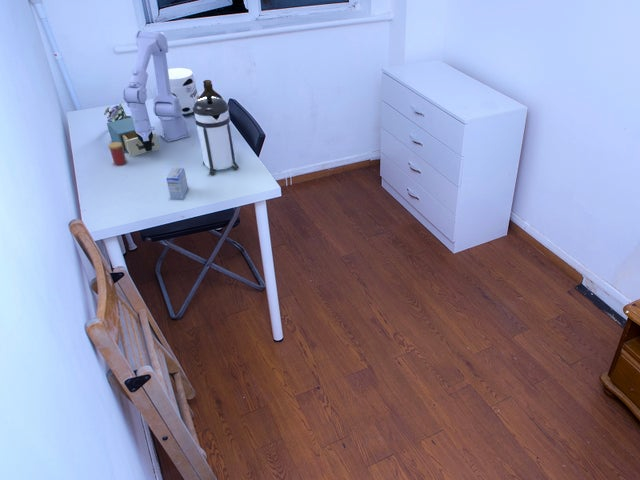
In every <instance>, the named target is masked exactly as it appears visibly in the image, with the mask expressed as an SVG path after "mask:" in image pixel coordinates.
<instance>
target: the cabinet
mask: <svg viewBox="0 0 640 480" xmlns="http://www.w3.org/2000/svg"><path fill="white" fill-rule="evenodd" d="M106 125H107V129H108V133H109V136H110V139H111V143H113V142H121V143H122V148H123V151H124V154H126V153H129V152H128V151H127V150H126V149H125V148H124V145H123V142H122V138H121V135H123V134H127V133H131V132H135V126H134V122H133V118H132V116H131V117H130V118H126V119H122V120H118V121H113V122H106Z"/></svg>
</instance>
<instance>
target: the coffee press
mask: <svg viewBox="0 0 640 480" xmlns="http://www.w3.org/2000/svg"><path fill="white" fill-rule="evenodd" d="M205 97H206V98H202V99H199V100H198V101H196V102H195V104H194V106H193V112H194V113H193V114H194V122H195V125H196V129H197V134H198V138H199V144H200V149H201V154H202V160H203V161H202V165H204V166H206V168H208V169H209V172H208V173H209V175H211V176H215V173H216V171H217V170H218V171H219V170H220V171H221V170H226V169H229V168H232V169H233V170H234V171H237V170H239V169H240V166H239V165H238V164H237V162H236V161H237V157H236V152H235V145H234V139H233V131H232V125H231V115H230V112H229V109H230V105H229V104H228V102H227V101H226V100H225V99H224V98H223V99H221V98H218V97H212V95H211V94H210V93H207V94H206V96H205Z"/></svg>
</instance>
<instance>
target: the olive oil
mask: <svg viewBox="0 0 640 480" xmlns="http://www.w3.org/2000/svg"><path fill="white" fill-rule="evenodd" d="M202 83H203V89H204V90H203V92H202V93H201V94H199V99H202V98H206V97H205V96H206V94H207V93H210V94H211V95H212V97H218V98H221V99H223V100H224V98H223V96H222V95H220V93H218V92H217V91H215V89H214V88H213V83H212V80H210V79H205V80H203V81H202ZM199 99H198V100H199Z"/></svg>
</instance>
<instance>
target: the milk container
mask: <svg viewBox="0 0 640 480" xmlns="http://www.w3.org/2000/svg"><path fill="white" fill-rule="evenodd" d="M168 73H169V81H170V88H171V94H172V95H174V96H175V97H177V98H178V99H179V103H180V106H181V114H182V115H183V116H188V115H191V114H195V113H194V112H193V106H194V104H195V102H196V101H198V99H199V97H200V94H199V92H198V90H197V86H196V85H197V84H196V80H195V75H194V72H193V71H192V70H191V69H189V68H184V67H175V68H168Z"/></svg>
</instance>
